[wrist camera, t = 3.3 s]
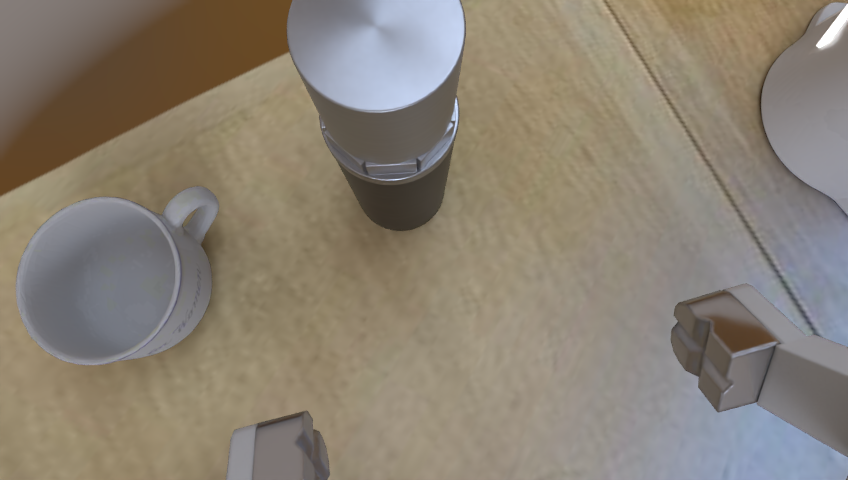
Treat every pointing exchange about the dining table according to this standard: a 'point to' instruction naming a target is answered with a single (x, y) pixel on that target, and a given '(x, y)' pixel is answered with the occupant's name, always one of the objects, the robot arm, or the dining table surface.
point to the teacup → (117, 278)
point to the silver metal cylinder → (381, 76)
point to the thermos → (400, 188)
